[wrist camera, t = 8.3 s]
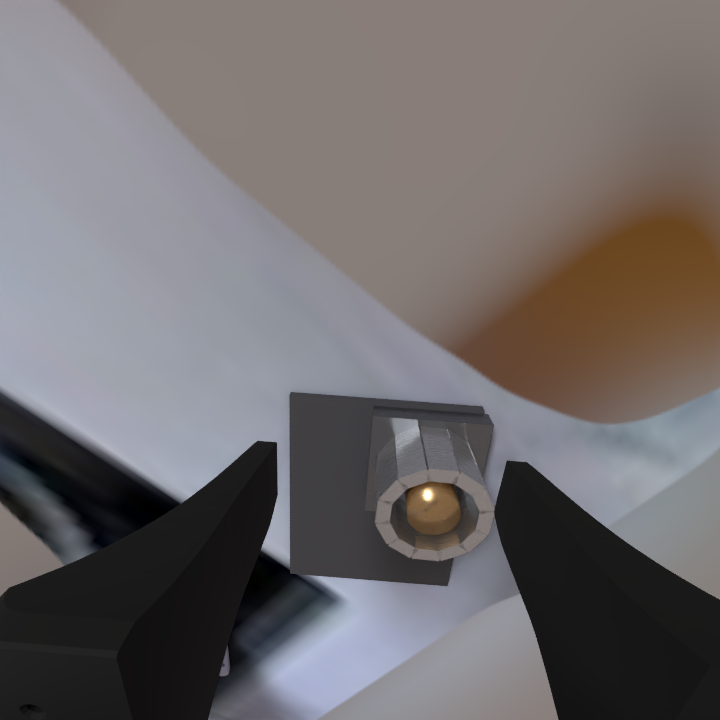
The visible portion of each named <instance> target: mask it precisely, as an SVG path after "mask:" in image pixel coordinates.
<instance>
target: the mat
mask: <svg viewBox="0 0 720 720" xmlns="http://www.w3.org/2000/svg"><path fill="white" fill-rule="evenodd" d="M373 406H385V407H399V408H412V409H425V410H438V411H452V412H465V413H478V414H484V409H483V407H482V406H468V405H455V404H442V403H428V402H415V401H402V400H388V399H375V398H362V397H348V396H335V395H321V394H308V393H295V392H291V393H290V574H303V575H315V576H328V577H340V578H353V579H365V580H378V581H390V582H403V583H415V584H428V585H440V586H447V585H448V581H449V576H450V571H451V566H452V561H453V558H450V559H446V560H443V561H441V560H440V559H439V561H432V560H421V559H412V557H410V558H409V557H407V556H406V555H404V554H402V553H400V552H398V551H397V550H395V549H393V548H391V547H390V546H388V544H386V542H385V541H384V539H383V537H382V535H381V534H380V532H379V530H378V528H377V527H376V525H375V511H365V493H366V481H367V470H368V458H369V447H370V435H371V424H372V412H373Z"/></svg>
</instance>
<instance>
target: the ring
mask: <svg viewBox="0 0 720 720" xmlns="http://www.w3.org/2000/svg"><path fill="white" fill-rule="evenodd" d="M429 481H432V482H442V483H452V484H455V485H456V486H455V487H454V488H455V492H456V495H457V499H458V503H459V506H460V510H461V517H460V520H459V522H458V524H457V525H456V526H455V527H454V528H453V529H452V530H450V531H448V532H446V533H443V534H439V535H427V534H423V533H420V532H418V531H417V530H415V529H414V528H413V527H412V526H411V525H410V523H409V521H408V518H407V509H406V499H405V495H404V494H402V493H403V492H404V491H405V490H406V489H408V488H411V487H414V486H417V485H420V484H423V483H426V482H429ZM494 510H495V509H494V506H493V504H492V501H491V498H490V496H489V493H488V491H487V488H486V486H485V483H484V480H483V478H482V475H481V473H480V470H479V468H478V465H477V463H476V460H475V458H474V455H473V453H472V451H471V448H470V446H469V444H468V443H467V442H466V441H464V440H463V439H461V438H460V437H458V436H457V435H455V434H454V433H452V432H451V431H449V430H446V429H440V428H430V427H420V429H419V427H417V428H414V429H411V430H409V431H406V432H403V433H400V434H398V435H395V437H392V439H391V440H390V441H389V442H388V443H387V444H386V445H385V447H384V448H383V449H382V450H381V451H380V452H379V453H378V456H377V464H376V472H375V525H376V527H377V528H378V530H379V532H380V534H381V535H382V537H383V539H384V541H385V542H386V544H388V546H390V547H391V548H393V549H395V550H397V551H398V552H400V553H402V554H404V555H406V556H407V557H409V558H410V557H412V559H421V560H432V561H439V559H440V560H441V561H443V560H446V559H450V558H453V557H456V556H460V555H463V554H466V553H467V551H468V552H470V551H471V550H472V549H473V548H474V547H476V546H477V545H478V544H479V543H480V542H481V541H482V540H483V539H485V538H486V537H487V536H488V534H489V532H490V528H491V525H492V521H493V518H494Z"/></svg>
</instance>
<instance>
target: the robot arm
mask: <svg viewBox="0 0 720 720" xmlns="http://www.w3.org/2000/svg"><path fill="white" fill-rule="evenodd" d="M277 495H278V490H277V442H264V441H257V442H256V443H254V444H253V445H252V446H251V447H250V448H249V449H248V450H246V451H245V452H244V453H243V454H242V455H241V456H240V457H239V458H238V459H236V460H235V461H234V462H233V463H232V464H231V465H230V466H229V467H227V468H226V469H225V470H224V471H223V472H221V473H220V474H219V475H218V476H217V477H216V478H214V479H213V480H212V481H211V482H209V483H208V484H207V485H206V486H204V487H203V488H202V489H200V490H199V491H198V492H196V493H195V494H194V495H193V496H191V497H190V498H189V499H187V500H186V501H184V502H183V503H182V504H180V505H179V506H177V507H176V508H174V509H173V510H171V511H169V512H168V513H166V514H165V515H163V516H162V517H160V518H158V519H157V520H155V521H153V522H152V523H150V524H148V525H146V526H145V527H143V528H141V529H139V530H137V531H135V532H134V533H132V534H130V535H128V536H126V537H125V538H123V539H121V540H119V541H117V542H115V543H113V544H111V545H109V546H107V547H105V548H103V549H101V550H99V551H97V552H95V553H93V554H90V555H88V556H86V557H84V558H82V559H79V560H77V561H75V562H73V563H70V564H68V565H66V566H63V567H61V568H59V569H56V570H53V571H51V572H48V573H46V574H43V575H41V576H38V577H36V578H33V579H31V580H28V581H26V582H23V583H20V584H18V585H15V586H12V587H10V588H9V589H8V590H7V591H6V592H4V593H3V595H2V596H1V597H0V720H208V717H209V713H210V709H211V705H212V701H213V697H214V694H215V690H216V686H217V682H218V679H219V676H227V675H228V674H229V671H230V663H229V652H228V642H229V639H230V635H231V632H232V628H233V625H234V621H235V618H236V614H237V611H238V608H239V605H240V602H241V599H242V596H243V593H244V591H245V588H246V586H247V583H248V580H249V578H250V575H251V573H252V570H253V568H254V565H255V562H256V560H257V557H258V555H259V552H260V550H261V547H262V544H263V542H264V539H265V537H266V534H267V531H268V529H269V526H270V523H271V519H272V515H273V511H274V507H275V503H276V499H277ZM494 515H495V519H496V524H497V528H498V532H499V536H500V540H501V544H502V546H503V549H504V552H505V555H506V557H507V560H508V563H509V565H510V568H511V571H512V573H513V576H514V578H515V581H516V583H517V586H518V589H519V591H520V594H521V596H522V599H523V601H524V604H525V606H526V609H527V612H528V614H529V617H530V620H531V623H532V626H533V628H534V631H535V634H536V638H537V641H538V645H539V648H540V652H541V655H542V659H543V662H544V666H545V669H546V673H547V677H548V680H549V684H550V688H551V692H552V696H553V700H554V704H555V707H556V711H557V715H558V719H559V720H720V600H719V599H717V598H716V597H714V596H712V595H710V594H708V593H706V592H705V591H703V590H701V589H699V588H698V587H696V586H694V585H693V584H691V583H689V582H687V581H686V580H684V579H682V578H681V577H679V576H677V575H676V574H674V573H672V572H671V571H669V570H668V569H666V568H664V567H663V566H661V565H659V564H658V563H656V562H655V561H653V560H652V559H650V558H649V557H647V556H646V555H644V554H643V553H641V552H640V551H638V550H637V549H635V548H634V547H632V546H631V545H629V544H628V543H627V542H625V541H624V540H622V539H621V538H619V537H618V536H617V535H615V534H614V533H613V532H612V531H610V530H609V529H608V528H606V527H605V526H604V525H602V524H601V523H600V522H598V521H597V520H596V519H595V518H593V517H592V516H591V515H589V514H588V513H587V512H586V511H584V510H583V509H582V508H581V507H580V506H578V505H577V504H576V503H575V502H574V501H572V500H571V499H570V498H569V497H568V496H566V495H565V494H564V493H563V492H562V491H561V490H559V489H558V488H557V487H556V486H555V485H554V484H552V483H551V482H550V481H549V480H548V479H547V478H545V477H544V476H543V475H542V474H541V473H539V472H538V471H537V470H536V469H535V468H533V467H532V466H531V465H529V464H528V463H527V462H516V461H507V462H506V466H505V470H504V474H503V478H502V482H501V486H500V490H499V494H498V498H497V502H496V506H495V510H494Z"/></svg>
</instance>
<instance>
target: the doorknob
mask: <svg viewBox="0 0 720 720" xmlns="http://www.w3.org/2000/svg"><path fill="white" fill-rule="evenodd" d="M417 427H419V429H420V427H430V428H440V429H446V430H449V431H451V432H452V433H454V434H455V435H457V436H458V437H460V438H461V439H463V440H464V441H466V442H467V443H468V444H469V446H470V448H471V451H472V453H473V455H474V458H475V460H476V463H477V465H478V468H479V470H480V473H481V475H482V476H483V472H484V467H485V463H486V458H487V454H488V449H489V445H490V441H491V436H492V432H493V427H494V425H493V423H492V421H491V419H490V417H489V415H488V414H478V413H465V412H452V411H438V410H425V409H412V408H399V407H385V406H373V412H372V424H371V435H370V447H369V458H368V470H367V481H366V493H365V511H375V472H376V464H377V456H378V453H379V452H380V451H381V450H382V449H383V448H384V447H385V445H386V444H387V443H388V442H389V441H390V440H391V439H392V437H395V435H398V434H400V433H403V432H406V431H409V430H411V429H414V428H417ZM455 486H456V485H455V484H452V483H442V482H432V481H429V482H426V483H423V484H420V485H417V486H414V487H411V488H408V489H406V490H405V491H404V492H403V493H402V494H404V495H405V499H406V509H407V518H408V521H409V523H410V525H411V526H412V527H413V528H414V529H415V530H417V531H418V532H420V533H423V534H427V535H439V534H443V533H446V532H448V531H450V530H452V529H453V528H454V527H455V526H456V525H457V524H458V522H459V520H460V517H461V510H460V506H459V503H458V499H457V495H456V492H455V488H454V487H455Z"/></svg>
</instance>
